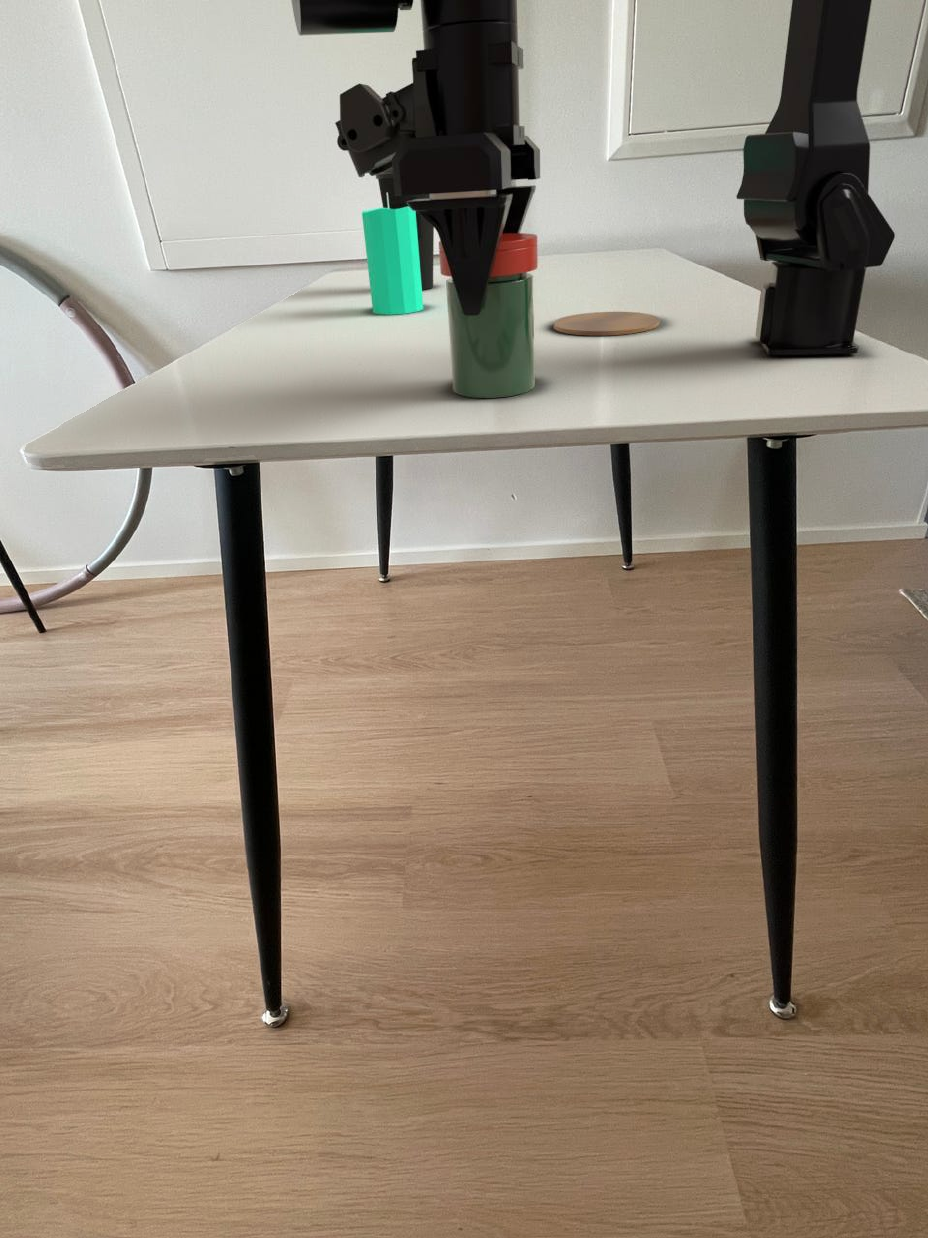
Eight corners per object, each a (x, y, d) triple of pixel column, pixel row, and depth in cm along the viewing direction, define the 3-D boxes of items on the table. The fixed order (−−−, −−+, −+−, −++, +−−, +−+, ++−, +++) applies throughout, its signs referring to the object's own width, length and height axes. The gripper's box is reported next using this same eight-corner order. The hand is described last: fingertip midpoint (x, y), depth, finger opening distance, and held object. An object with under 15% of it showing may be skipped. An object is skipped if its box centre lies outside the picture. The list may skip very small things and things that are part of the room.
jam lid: (451, 266, 58) (449, 235, 57) (542, 262, 57) (541, 231, 56) (431, 279, 52) (428, 245, 51) (532, 275, 51) (531, 240, 50)
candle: (416, 313, 89) (406, 191, 83) (365, 315, 90) (351, 195, 84) (429, 304, 94) (420, 189, 88) (381, 306, 95) (368, 192, 89)
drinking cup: (454, 284, 107) (444, 109, 97) (422, 293, 102) (407, 108, 92) (409, 283, 111) (394, 114, 101) (375, 291, 106) (356, 114, 96)
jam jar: (538, 376, 60) (536, 245, 56) (530, 397, 55) (527, 255, 51) (461, 378, 61) (453, 249, 57) (445, 398, 56) (435, 259, 52)
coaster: (657, 314, 80) (657, 309, 79) (660, 334, 71) (661, 329, 71) (557, 317, 81) (557, 313, 81) (549, 337, 73) (549, 332, 73)
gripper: (385, 56, 57) (406, 288, 65) (284, 22, 41) (327, 334, 49) (539, 41, 55) (542, 283, 63) (494, -1, 39) (505, 330, 47)
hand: (482, 305), depth 55 cm, fingers open, 7 cm apart
